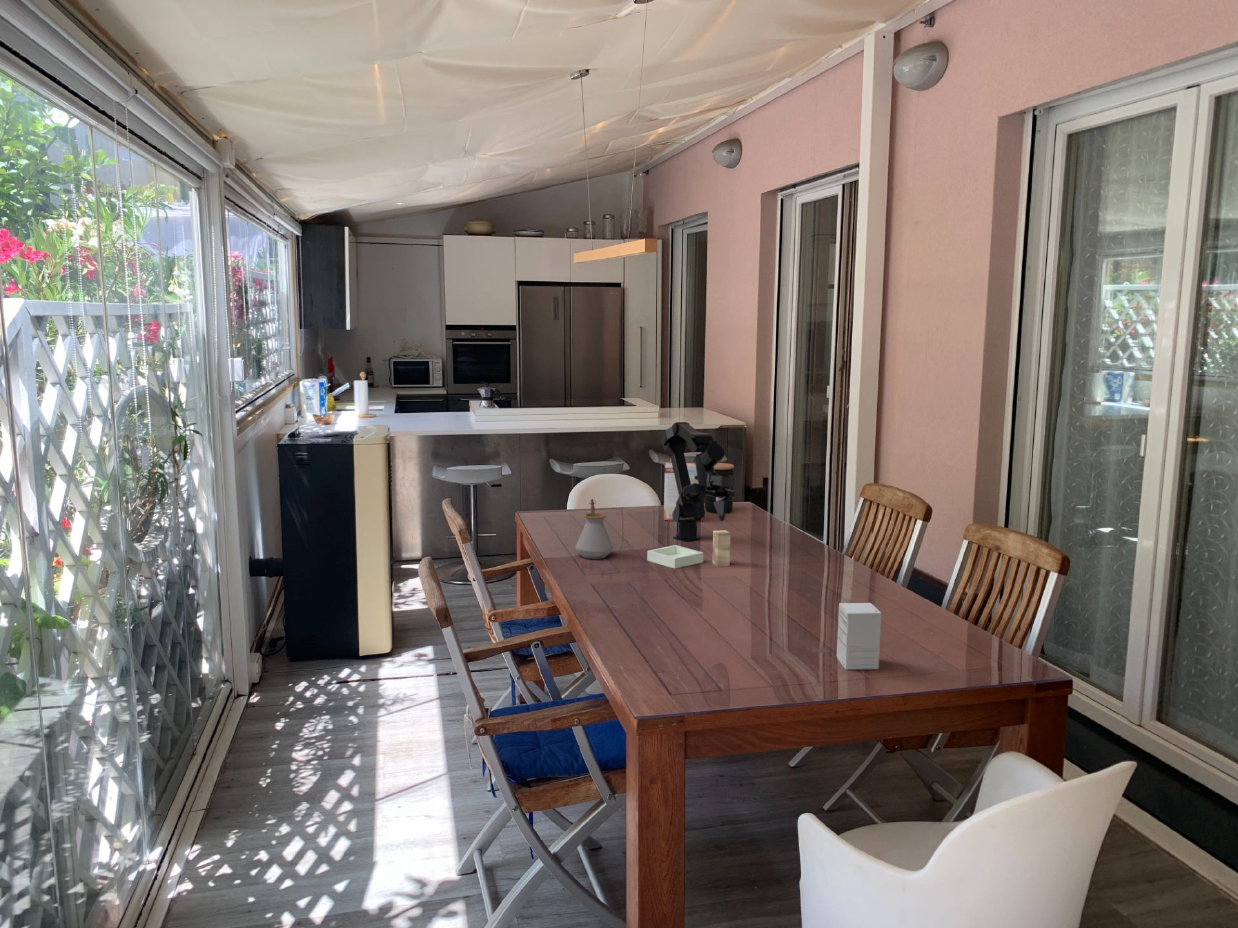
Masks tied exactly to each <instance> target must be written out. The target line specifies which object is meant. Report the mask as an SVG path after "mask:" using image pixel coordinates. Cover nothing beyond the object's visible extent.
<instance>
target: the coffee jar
mask: <svg viewBox="0 0 1238 928" xmlns="http://www.w3.org/2000/svg"><path fill="white" fill-rule="evenodd" d="M734 467H735V465H734V464H732V463H725V462H718V463H717V464H716V465H715V466H714V469H715V473H718V474H719V476H726V475H732V476H733V477H734V478H735V473H734ZM722 489H730V490H732V491H734V485H733V486H732V485H731V488H728V487H722ZM722 489H718V490H717V491H719V490H722ZM713 502H715V501H714V500H713V497H712V496H707V495H705V498H704V509H705V511H706V513H708V514H709V513H710V514H717V515H718V513H717V511H716V508H715V506H714V503H713ZM733 502H734V498H733V499H732V500H731V501H729V503H728V504H727V507H726V512H725V514H730V513H732V510H733V507H734V506H733V505H734V503H733Z"/></svg>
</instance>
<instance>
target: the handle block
mask: <svg viewBox="0 0 1238 928" xmlns="http://www.w3.org/2000/svg"><path fill="white" fill-rule="evenodd" d="M712 532H713V533H712V534H713V535H712V536H713V537H712V564H713V565H714V566H716V567H730V563H731V562H730V560H731V559H730V558H731V532H729V531H728V530H725V529H724V530H713V531H712Z"/></svg>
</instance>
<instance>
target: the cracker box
mask: <svg viewBox="0 0 1238 928" xmlns="http://www.w3.org/2000/svg"><path fill="white" fill-rule="evenodd" d="M686 464H687V468H688V473H689V477H690V482H691V484H694V483H698V480H695V477H694V476H697V471H696V464H695V463H694V462H692V463H691V462H686ZM663 485H664V489H663V491H664V492H663V495H664V497H663V521H665V520H668V521H669V522H675V521H674V520H673V516H672V513H673V511H674V509H675V507H676V502H677V499H678V497H679V493H678V489H677V484H676V480H675V475H674V470H673V466H672V462H665V463H664V484H663ZM702 521H703V518H702V519H701V521H697V522H698V523H699V522H702Z"/></svg>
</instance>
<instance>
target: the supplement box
mask: <svg viewBox="0 0 1238 928" xmlns="http://www.w3.org/2000/svg"><path fill="white" fill-rule="evenodd" d="M837 622H838V623H837V626H838V627H837V643H836V658H837V660H838V661H839V663H840V664H841V666H843V668H844V670H846V671H847V670H879V667H880V650H881V648H880V647H881V629H882V612H881V611H880V610H879V609H878V608H877V607H876V606H875V605H874V604H873V603H871V602H839V604H838V621H837Z"/></svg>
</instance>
